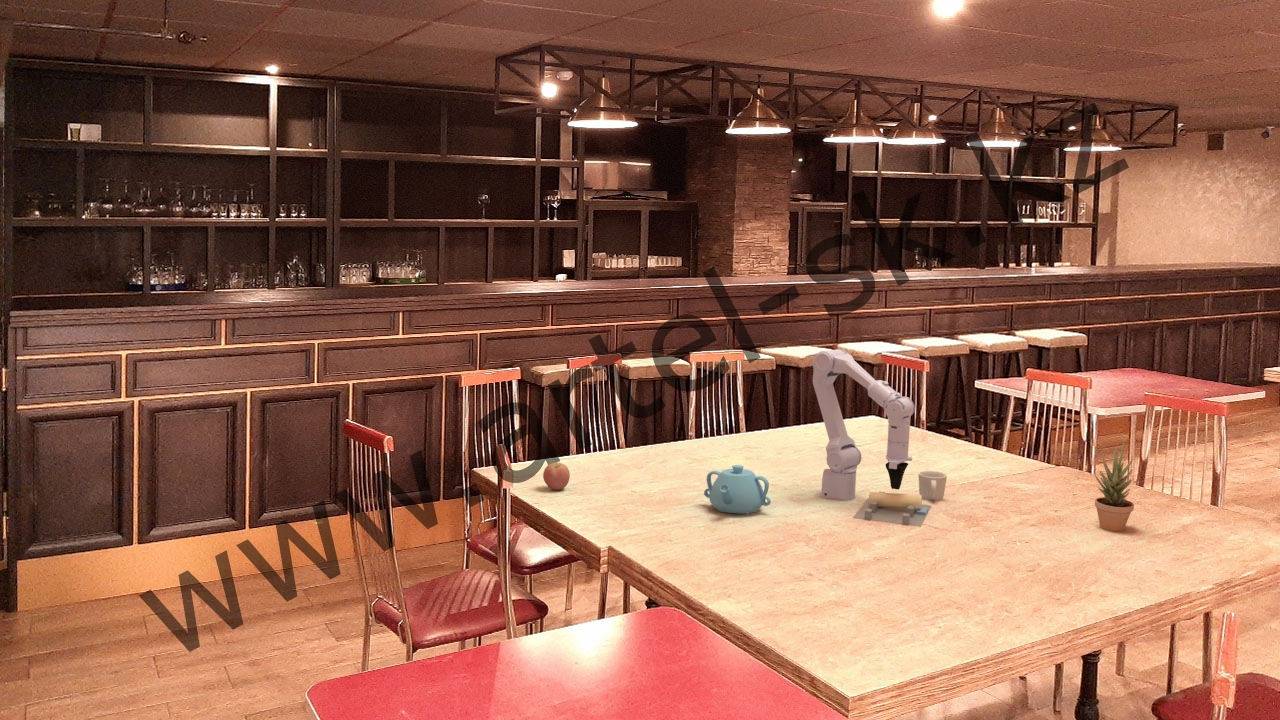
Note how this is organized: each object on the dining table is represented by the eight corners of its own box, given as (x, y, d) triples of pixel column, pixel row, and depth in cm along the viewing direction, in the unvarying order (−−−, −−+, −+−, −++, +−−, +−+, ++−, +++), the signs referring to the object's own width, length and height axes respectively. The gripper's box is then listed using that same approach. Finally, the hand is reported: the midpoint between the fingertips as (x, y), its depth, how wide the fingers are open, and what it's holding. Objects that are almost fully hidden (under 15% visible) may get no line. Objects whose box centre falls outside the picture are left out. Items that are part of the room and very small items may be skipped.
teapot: (778, 507, 291) (780, 463, 289) (756, 526, 273) (757, 479, 271) (713, 498, 299) (714, 456, 298) (687, 516, 281) (688, 471, 280)
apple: (538, 491, 305) (538, 464, 303) (550, 485, 312) (550, 459, 310) (562, 494, 302) (563, 467, 301) (574, 488, 309) (574, 462, 308)
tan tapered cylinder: (868, 507, 288) (868, 493, 288) (871, 504, 292) (871, 490, 292) (919, 510, 283) (919, 496, 283) (921, 507, 287) (921, 493, 286)
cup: (947, 507, 293) (949, 480, 292) (918, 505, 295) (920, 478, 294) (944, 498, 304) (945, 471, 303) (916, 496, 305) (917, 469, 304)
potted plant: (1115, 535, 270) (1123, 443, 266) (1085, 525, 278) (1092, 436, 275) (1141, 530, 274) (1148, 439, 271) (1110, 521, 283) (1117, 433, 279)
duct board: (852, 521, 279) (852, 509, 278) (867, 501, 299) (868, 490, 298) (920, 530, 272) (921, 517, 271) (931, 509, 292) (932, 497, 291)
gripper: (908, 447, 277) (906, 496, 279) (916, 437, 290) (914, 484, 292) (882, 444, 280) (879, 493, 282) (891, 434, 293) (888, 481, 295)
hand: (895, 488), depth 287 cm, fingers closed
